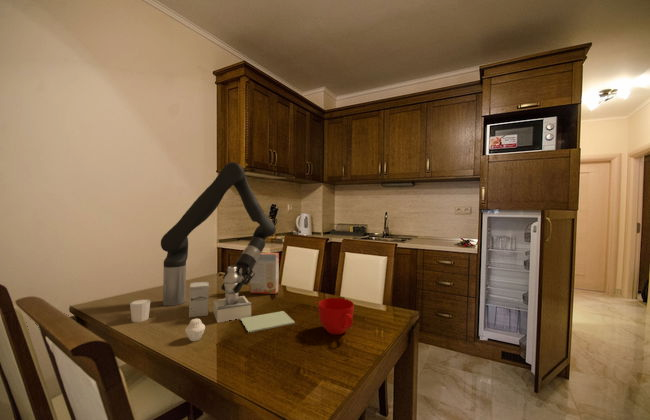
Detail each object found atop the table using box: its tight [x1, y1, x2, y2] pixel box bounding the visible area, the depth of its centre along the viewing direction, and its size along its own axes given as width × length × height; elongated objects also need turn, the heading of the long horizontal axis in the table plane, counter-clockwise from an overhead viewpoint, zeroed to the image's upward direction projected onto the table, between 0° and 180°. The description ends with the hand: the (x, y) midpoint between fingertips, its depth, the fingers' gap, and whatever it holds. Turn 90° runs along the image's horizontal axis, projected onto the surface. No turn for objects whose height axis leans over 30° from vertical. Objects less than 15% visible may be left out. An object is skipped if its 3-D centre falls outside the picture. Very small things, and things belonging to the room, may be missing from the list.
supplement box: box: [188, 281, 210, 319], centre depth 117 cm, size 7×7×13 cm
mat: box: [239, 310, 296, 334], centre depth 109 cm, size 18×13×1 cm
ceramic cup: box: [318, 297, 355, 335], centre depth 100 cm, size 13×17×10 cm
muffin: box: [184, 317, 206, 342], centre depth 94 cm, size 6×6×7 cm
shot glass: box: [129, 298, 151, 323], centre depth 110 cm, size 7×7×7 cm
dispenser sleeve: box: [212, 295, 252, 324], centre depth 116 cm, size 13×13×6 cm
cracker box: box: [249, 252, 280, 295], centre depth 147 cm, size 14×6×21 cm, turn 84°
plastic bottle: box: [223, 265, 240, 306], centre depth 116 cm, size 6×7×20 cm
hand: (229, 290), depth 115 cm, fingers closed on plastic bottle, 6 cm apart
